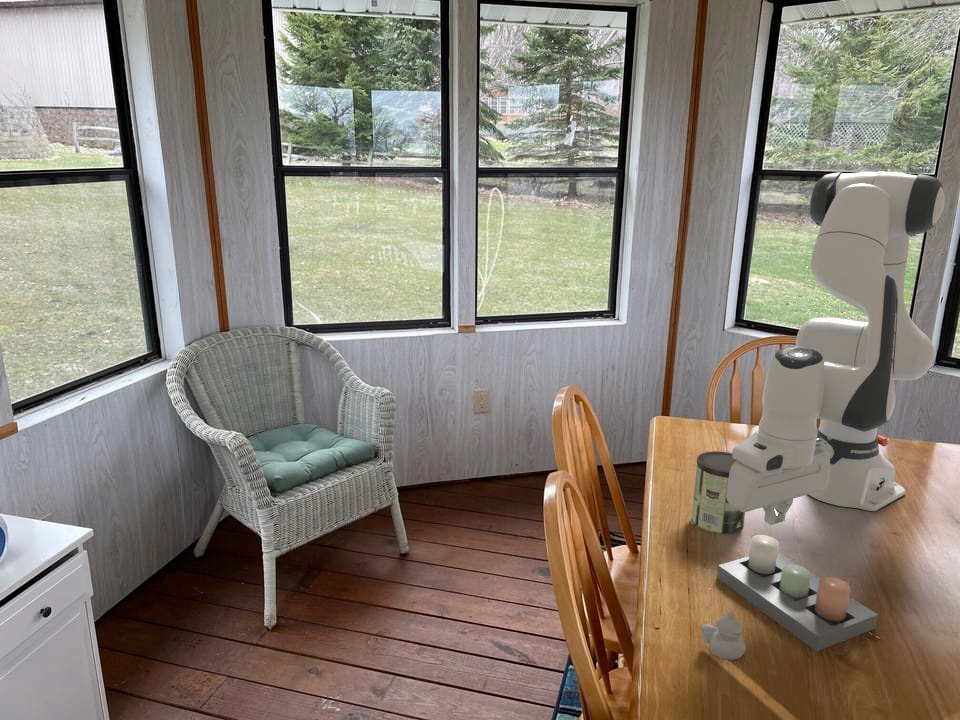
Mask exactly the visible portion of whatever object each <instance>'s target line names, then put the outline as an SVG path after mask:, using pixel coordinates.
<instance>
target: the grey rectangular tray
mask: <svg viewBox="0 0 960 720" xmlns="http://www.w3.org/2000/svg"><path fill="white" fill-rule="evenodd" d="M748 561H749V555H748V556H745V557H741V558H738V559H735V560H732V561H727V562H725V563H721V564H718V566H717V575H716V579H718V580H719V581H720V582H722V583H723V584H725V586H727V587H728V588H730V589H732V591H733V592H735V593H737V595H739V596H741V597H742V598H744V599H745V600H746V601H748V602H749V603H750V604H751V605H752V606H754V607H755V608H757V609H758V610H760V611H761V612H762V613H764V614H765V615H766V616H768V617H769V618H770V619H772V620H773V621H774V622H776V623H777V624H779V625H780V626H782V627H783V628H785V630H787V631H788V632H790V633H791V634H793V635H794V636H795V637H796V638H798V639H799V640H800V641H802V642H803V643H804V644H806V645H807V646H809V647H810V648H812V649H813V650H814V651H815V652H819V651H821V650H824V649H826V648H829V647H832V646H834V645H836V644H837V645H838V644H839V643H842V642H844V641H846V640H849V639H852V638H854V637H857V636H860V635H862V634H865V633H867V632H870V631H872V630H875V629H876V625H877V620H878V616H879V614H877V613H876V612H875V611H873V610H871V609H870V608H868V607H867V606H865V605H863V604H862V603H860V602H858V601H857V600H855V599H854V598H852V597H851V596H849V600H848V606H847V611H846V616H845V619H844V620H842V621H830V620H827V619H824V618H822V617H820V616H819V615H818V614H817V613H816V612H815V603H816V597H817V592H818V586H819V580H820V579H821V578H820V577H818V576H817V575H816V574H814V573H812V572H811V571H809V572H810V573H811V580H810V586H809V592H808V597H806V598H803V599H800V600H797V601H794V600H793V599H791V598H790V597H788V596H787V595H785V594H784V593H783V592H781V591H780V590H779V586H780V580H781V573H782V568H783V566H785V565H790V564H792V565H798V566H801V565H800V564H798V563H796V562H795V561H793V560H792V559H790V558H788V557H787V556H785V555H783V554H782V553H780V552H779V551H778V554H777V560H776V567H775V571H774V572H773V573H771V574H761V573H757V572H755V571H753V570H752V569H750V568H749V566H748Z"/></svg>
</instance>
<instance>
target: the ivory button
mask: <svg viewBox="0 0 960 720" xmlns="http://www.w3.org/2000/svg"><path fill="white" fill-rule="evenodd" d="M779 546H780V542H779V541H778V540H777V539H775V538H774V537H772V536H769V535H767V534H765V535H764V534H756V535H753V536H752V537H751V541H750V547H749V548H750V549H749V555H748V556H749V561H748V566H749V568H750V569H752V570H753V571H755V572H757V573H761V574H771V573H773V572H774V571H775V567H776V560H777V554H778V552H779Z"/></svg>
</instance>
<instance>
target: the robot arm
mask: <svg viewBox="0 0 960 720" xmlns="http://www.w3.org/2000/svg"><path fill="white" fill-rule="evenodd" d="M808 204H809V215H810V219H811V220H812V221H813V222H814V223H815V224H816V225H817V226H819V230H818V232H817V233H818V234H817V236H816V239H815V242H814V246H813V250H812V255H811V261H810V269H811V273H812V275H813V278H814V279H815V282H817V284H818V285H820V287H821V288H822V289H823V290H825V292H827V293H829V294H830V295H832V296H834V297H835V298H837V299H839V300H841V301H842V302H845V303H847V304H848V305H851V306H853V307H854V308H856V309H857V310H859V311H860V312H862V313H863V314H864V316H865V317H866V320H867V321H861V320H854V319H847V318H840V317H835V316H834V317H814V318H810V319H807V321H806V322H804V323H803V324H802V326H800V329H799V330H798V332H797V335H796V340H795V346H789V347H783V348H781V349H779V350H777V351H776V352H774V354H773V356H772V358H771V359H770V363H769V366H768V370H767V374H766V376H765V377H766V378H765V382H764V387H763V392H762V399H761V402H762V409H763V412H762V416H761V418H760V420H759V423H758V428H757V431H755V432H753V434H751V435H750V436H748V437H747V438H746V439H745V440H743V441H742V442H740V443H738V444H737V445H735V446H734V447H733V449H732V452H731V453H732V457H733V458H734V459H736V460H737V461H736V462H734V464H733V465H732V467H731V469H730V473H729V479H728V485H727V501H728V502H729V504H730V505H731V506H733V507H734V508H736V509H738V510H739V511H741V512H745V513H747V512H748V513H749V512H752V511H754V510H758V509H763V511H764V519H763V520H764V522H765V523H767V524H768V525H769V526H773V525H777V524H779V523H782V522H783V523H784V522H785V520H786V516H787V515H786V514H787V512H788V511H789V509H790V508H791V506H792V505H793V503H794V499H797V498H799V497H803V496H807V495H809V496H810V497H812V498H814V499H815V500H818V501H821V502H823V503H827V504H829V505H835V506H838V507H843V508H845V507H846V508H853V509H855V508H856V509H860V510H864V511H869V512H876V511H878V510H880V509H881V508H883V507H885V506H887V505H888V504H890V503H892V502H894V501H895V500H897V499H899V498H901V497H903V496H905V494H906V489H905V488H904V487H903V486H902V485H900V484H899V483H897V482H895V479H896V468H895V466H894V465H893V464H892V463H891V462H890V460H888V459H887V458H886V457H884V455H882V454H881V453H880V447H879V445H880V446H881V447H886V446H887V445H888V444H889V438H888V437H886V436H882V435H880V434H878V435H877V433H878V428H880V427H881V426H884V425H885V424H887V423H888V422H889V420H890V418H891V416H892V414H893V412H894V409H895V405H896V404H895V403H896V388H895V380H896V381H917V380H918V379H920V378H922V377H923V376H924V375H925V374H926V373H927V372H928V371H929V370H930V369H931V367H932V364H933V362H934V358H935V350H934V345H933V343H932V341H931V339H930V338H929V336H928V335H927V334H926V333H925V332H923V331H922V330H921V329H920V328H919V327H918V326H917V325H916V324H915V323H914V321H913V320H912V318H911V316H910V314H909V312H908V310H907V306H906V305H905V299H904V292H905V291H904V290H905V288H904V287H905V276H906V269H907V263H908V256H909V248H910V237H915V236H917V235H920V234H925V233H927V232H928V231H930V230H932V229H933V228H934V227H935V226H936V224H937V222H938V220H939V219H940V218H941V217H942V215H943V211H944V208H945V204H946V197H945V192H944V187H943V184H942V182H941V181H940V179H938V178H937V177H934V176H930V175H926V174H921V173H919V174H917V175H915V174H909V173H900V172H891V171H878V172H852V173H851V172H850V173H843V172H833V173H829V174H824V175H823V176H821V178H820V179H818V180H817V181H816V183H815V185H814V187H813V189H812V191H811V194H810V198H809V203H808ZM818 419H820V423H819V426H817V424H818V423H817V420H818Z"/></svg>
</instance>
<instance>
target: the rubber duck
mask: <svg viewBox="0 0 960 720" xmlns="http://www.w3.org/2000/svg"><path fill="white" fill-rule="evenodd" d="M734 613H735V610H732V611H730V612H728V613H725V614H724V615H722V616H721V617H719V618H718V620H717V621H716V624H715V625H716V626H714V625H712V624H710V623H704V624H703V625H702V626H701V631H702V637H701V638H702V641H703V642H704V643H707V644H708V645H709V648H710V652H711V653H712V655H713V656H716V657H717V658H719V659H721V660H724V661H727V662H728V661H730V660H731V661H733V660H737V659H740V658H742V656H743V655H744V654H745V652H746V649H747V648H746V647H747V646H746V643H745V640H744V638H743V636H742V635H741V634H742V633H743V629H742V628H743V627H742V626H741V625H740V623H739V620H738V617H736V616H735V614H734Z"/></svg>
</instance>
